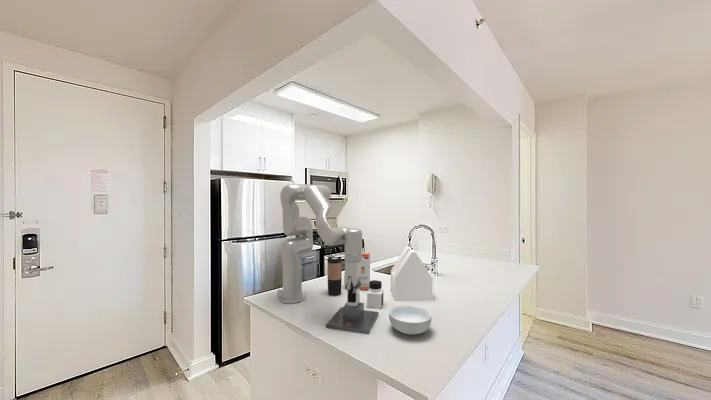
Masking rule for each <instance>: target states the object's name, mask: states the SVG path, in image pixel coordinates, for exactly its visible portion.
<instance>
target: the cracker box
mask: <svg viewBox="0 0 711 400" xmlns="http://www.w3.org/2000/svg"><path fill="white" fill-rule="evenodd" d="M345 263H346V262H345V261H344V264H345ZM370 281H371V252H365V251H362V262H361V280H360V282H361V286H360V291H368V290H369V282H370ZM344 290H347V288H346V286H345V285H344Z"/></svg>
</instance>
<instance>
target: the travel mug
mask: <svg viewBox="0 0 711 400" xmlns="http://www.w3.org/2000/svg"><path fill="white" fill-rule="evenodd" d="M342 273H343V272H342V256H335V255H331V256H328V257H327V295H328V296H331V297H338V296H341V295H342V282H343V281H342V280H343V279H342V277H343V276H342V275H343V274H342Z"/></svg>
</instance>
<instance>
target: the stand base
mask: <svg viewBox="0 0 711 400" xmlns="http://www.w3.org/2000/svg"><path fill="white" fill-rule="evenodd" d="M379 315H380V313H379V311H373V310H367V309H365V304H364V302H360V305H359V306H358V308H354V307H347V302H346V303H345V304H344V305H343V306H342V307H340V308H339V309H338V310H337V311H336V312H335V314H334V315H332V317H331V318H330V319H329V320H328V321H327V322H326V324H325V328H326V329H330V330H338V331H345V332H352V333H358V334H365V335H369V334H370V333H371V331H372V329H373V327H374V324H375V323H376V321H377V319H378V317H379Z"/></svg>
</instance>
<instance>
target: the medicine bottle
mask: <svg viewBox="0 0 711 400" xmlns="http://www.w3.org/2000/svg"><path fill="white" fill-rule="evenodd" d="M382 284H383V283H382V281H381V280H379V279H372V280H370V282H369V290H367V294H366V302H367V303H366V304H367V305H366V307H367V308H372V309H383V305H384V288H382V287H383V286H382Z"/></svg>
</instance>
